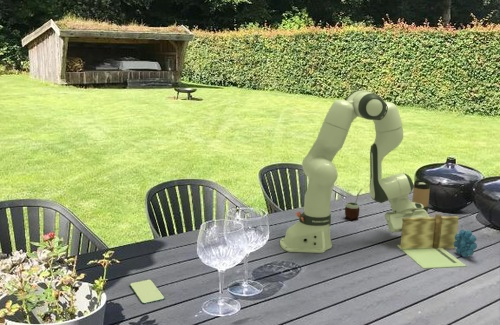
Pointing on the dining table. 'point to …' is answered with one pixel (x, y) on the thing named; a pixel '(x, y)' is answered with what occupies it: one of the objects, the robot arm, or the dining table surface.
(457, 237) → the grapes
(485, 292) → the dining table surface
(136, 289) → the smartphone
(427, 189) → the travel mug
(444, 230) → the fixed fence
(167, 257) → the dining table surface
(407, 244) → the gate panel
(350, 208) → the mate gourd
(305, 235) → the robot arm
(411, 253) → the board
